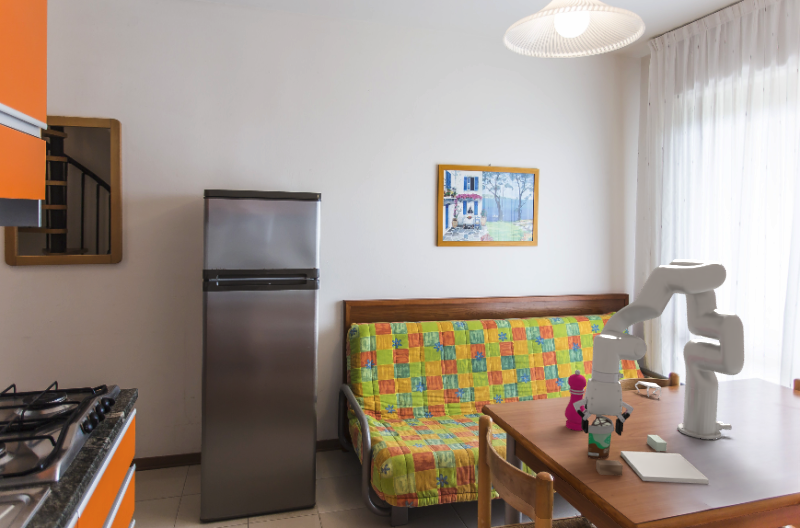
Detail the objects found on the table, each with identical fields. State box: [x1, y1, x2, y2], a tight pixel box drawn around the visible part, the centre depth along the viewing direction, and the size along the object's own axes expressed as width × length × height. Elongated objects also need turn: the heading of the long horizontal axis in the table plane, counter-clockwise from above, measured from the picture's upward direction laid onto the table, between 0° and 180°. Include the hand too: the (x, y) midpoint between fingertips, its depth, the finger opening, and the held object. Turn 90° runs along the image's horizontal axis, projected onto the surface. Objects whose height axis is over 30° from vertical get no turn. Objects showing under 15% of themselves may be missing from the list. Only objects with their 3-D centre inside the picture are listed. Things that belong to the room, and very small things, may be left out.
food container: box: [587, 415, 615, 460], centre depth 151 cm, size 12×6×10 cm, turn 148°
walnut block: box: [595, 459, 624, 477], centre depth 139 cm, size 6×3×3 cm, turn 86°
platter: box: [620, 450, 710, 485], centre depth 142 cm, size 17×16×1 cm
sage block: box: [646, 434, 668, 452], centre depth 157 cm, size 6×3×3 cm, turn 0°
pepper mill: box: [564, 369, 587, 432], centre depth 171 cm, size 7×7×20 cm
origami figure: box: [634, 380, 662, 399], centre depth 210 cm, size 12×8×5 cm
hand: (601, 432), depth 150 cm, fingers open, 9 cm apart
